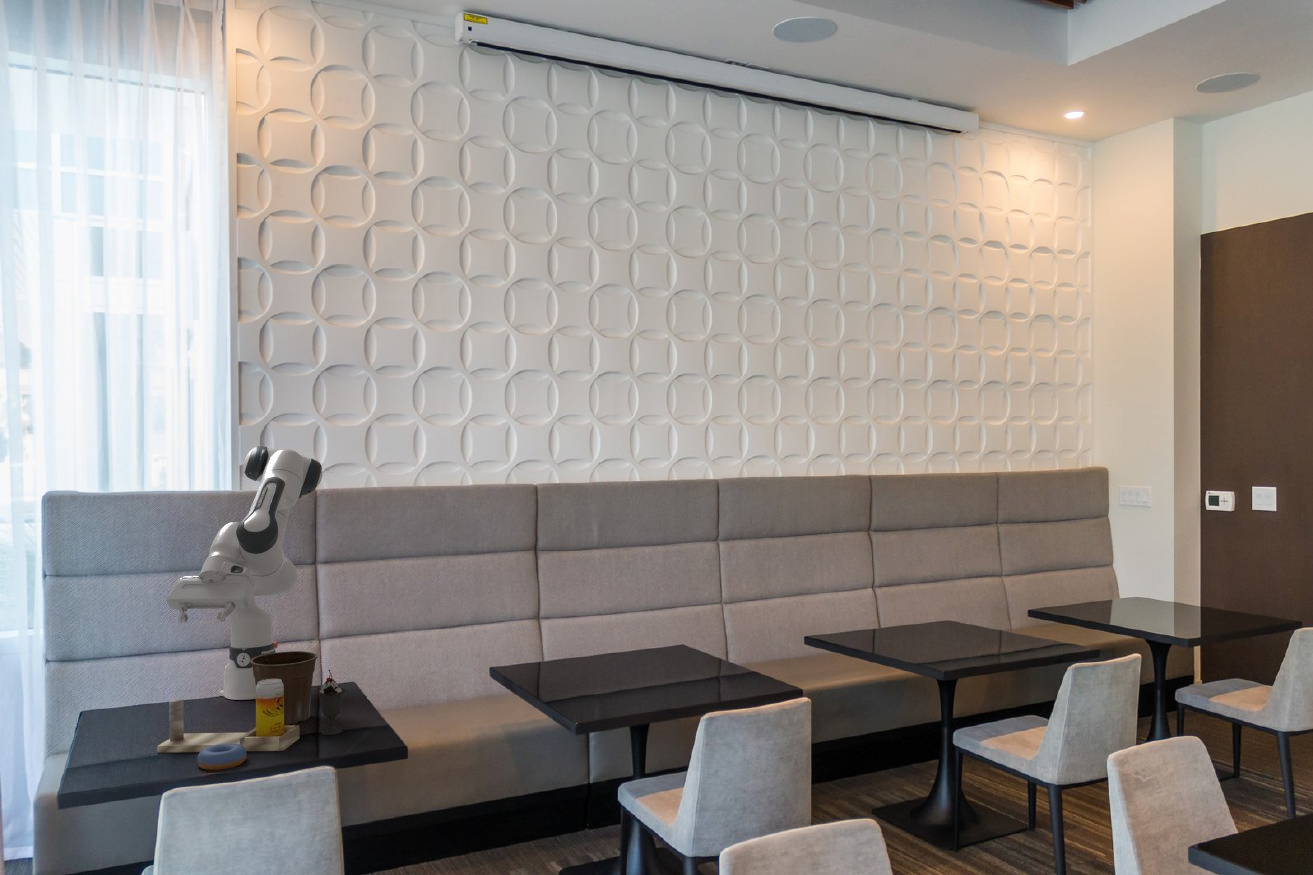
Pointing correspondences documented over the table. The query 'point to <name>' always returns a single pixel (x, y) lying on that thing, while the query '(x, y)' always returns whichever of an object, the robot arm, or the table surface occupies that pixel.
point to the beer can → (269, 708)
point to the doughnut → (221, 756)
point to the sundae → (331, 703)
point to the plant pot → (289, 680)
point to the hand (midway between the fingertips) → (201, 620)
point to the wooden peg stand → (219, 736)
